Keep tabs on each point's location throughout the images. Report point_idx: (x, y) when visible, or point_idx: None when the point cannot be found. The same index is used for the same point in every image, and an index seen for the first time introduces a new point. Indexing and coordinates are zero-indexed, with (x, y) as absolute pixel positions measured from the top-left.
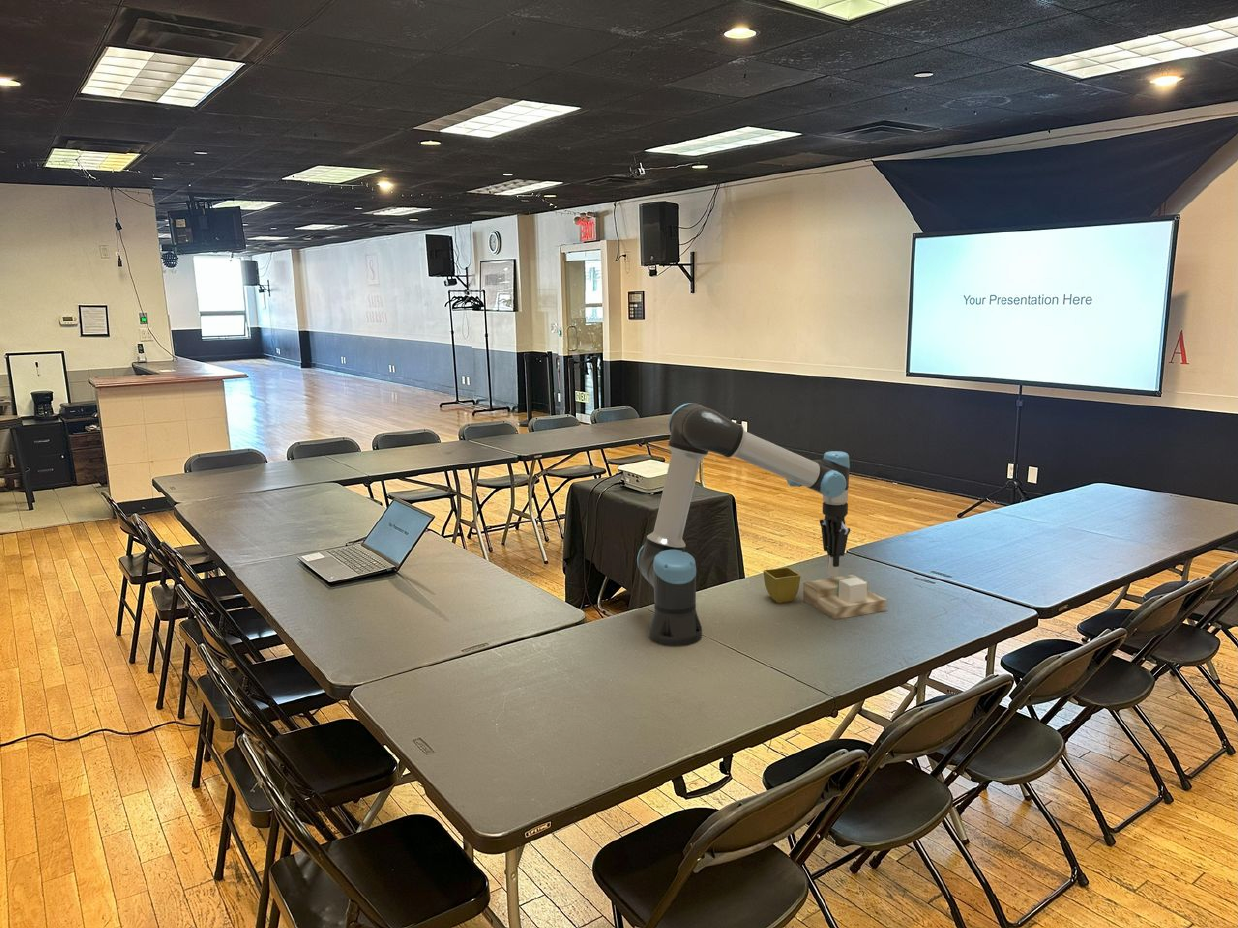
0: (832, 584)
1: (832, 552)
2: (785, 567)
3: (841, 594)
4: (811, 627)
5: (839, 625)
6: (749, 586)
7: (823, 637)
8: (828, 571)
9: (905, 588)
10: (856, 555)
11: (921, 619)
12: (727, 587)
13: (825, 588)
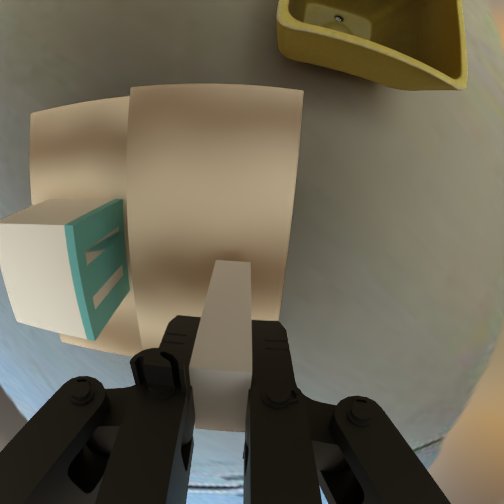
0: (177, 228)
1: (165, 415)
2: (465, 74)
3: (83, 203)
4: (54, 16)
5: (24, 106)
6: (484, 63)
7: (4, 33)
8: (246, 275)
9: (220, 445)
10: (431, 442)
11: (26, 341)
12: (488, 14)
13: (134, 144)
